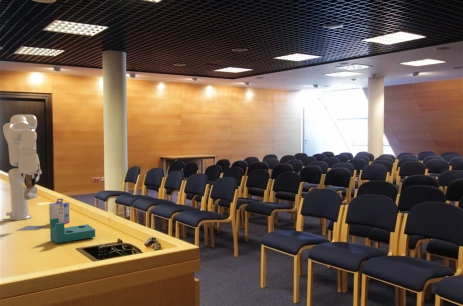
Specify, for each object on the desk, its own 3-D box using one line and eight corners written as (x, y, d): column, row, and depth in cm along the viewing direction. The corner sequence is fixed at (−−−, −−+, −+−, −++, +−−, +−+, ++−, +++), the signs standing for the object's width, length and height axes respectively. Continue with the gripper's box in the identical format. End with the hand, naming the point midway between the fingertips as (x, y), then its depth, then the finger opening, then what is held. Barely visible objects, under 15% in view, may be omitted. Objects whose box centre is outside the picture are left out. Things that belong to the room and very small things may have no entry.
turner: (24, 199, 233) (23, 175, 233) (32, 197, 241) (31, 174, 241) (29, 199, 233) (28, 175, 232) (37, 197, 241) (36, 174, 240)
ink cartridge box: (70, 223, 250) (69, 198, 250) (64, 225, 245) (63, 200, 244) (55, 223, 252) (53, 198, 252) (49, 225, 247) (48, 200, 246)
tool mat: (15, 231, 232) (15, 230, 232) (27, 226, 244) (27, 225, 244) (37, 231, 231) (37, 230, 231) (48, 226, 243) (48, 225, 243)
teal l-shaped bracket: (56, 246, 200) (56, 224, 199) (50, 240, 208) (50, 218, 207) (95, 239, 211) (95, 218, 209) (87, 234, 219) (87, 213, 218)
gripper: (10, 152, 233) (12, 186, 234) (40, 151, 232) (41, 186, 233) (18, 152, 240) (19, 185, 241) (46, 151, 239) (48, 184, 240)
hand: (30, 185), depth 237 cm, fingers closed on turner, 3 cm apart
